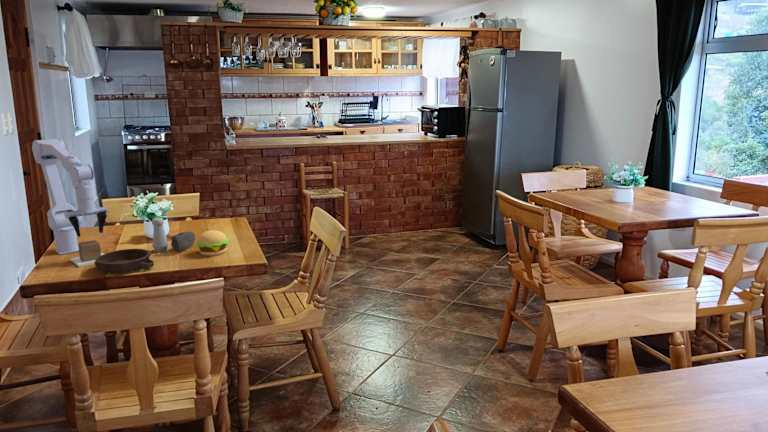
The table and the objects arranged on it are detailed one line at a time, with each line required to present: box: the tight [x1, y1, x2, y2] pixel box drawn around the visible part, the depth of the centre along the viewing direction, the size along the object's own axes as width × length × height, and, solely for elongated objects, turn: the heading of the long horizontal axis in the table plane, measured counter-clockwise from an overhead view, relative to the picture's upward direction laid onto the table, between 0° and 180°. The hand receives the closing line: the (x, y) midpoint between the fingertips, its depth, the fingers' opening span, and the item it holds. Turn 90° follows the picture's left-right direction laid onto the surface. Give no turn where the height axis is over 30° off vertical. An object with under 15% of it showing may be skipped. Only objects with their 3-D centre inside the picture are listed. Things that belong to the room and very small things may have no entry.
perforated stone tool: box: [170, 231, 196, 253], centre depth 228 cm, size 15×5×7 cm, turn 166°
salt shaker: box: [151, 217, 169, 253], centre depth 225 cm, size 6×6×13 cm
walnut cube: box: [78, 239, 102, 262], centre depth 215 cm, size 6×6×6 cm
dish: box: [94, 248, 155, 274], centre depth 206 cm, size 17×22×5 cm
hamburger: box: [195, 229, 229, 257], centre depth 222 cm, size 12×12×9 cm
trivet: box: [70, 252, 105, 268], centre depth 215 cm, size 11×11×1 cm
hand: (90, 234), depth 214 cm, fingers open, 7 cm apart
